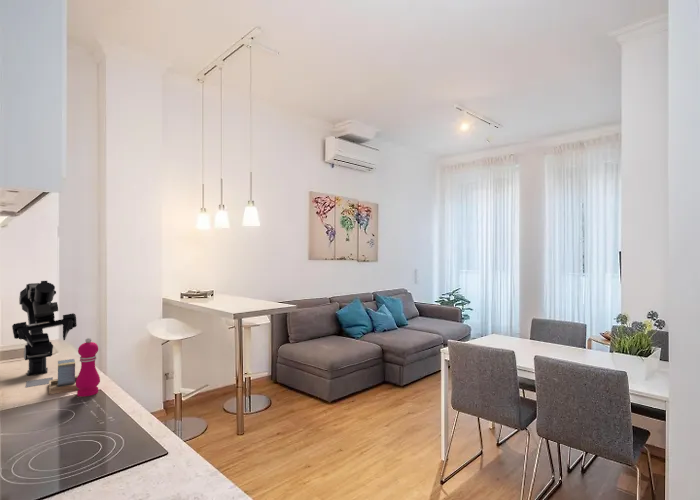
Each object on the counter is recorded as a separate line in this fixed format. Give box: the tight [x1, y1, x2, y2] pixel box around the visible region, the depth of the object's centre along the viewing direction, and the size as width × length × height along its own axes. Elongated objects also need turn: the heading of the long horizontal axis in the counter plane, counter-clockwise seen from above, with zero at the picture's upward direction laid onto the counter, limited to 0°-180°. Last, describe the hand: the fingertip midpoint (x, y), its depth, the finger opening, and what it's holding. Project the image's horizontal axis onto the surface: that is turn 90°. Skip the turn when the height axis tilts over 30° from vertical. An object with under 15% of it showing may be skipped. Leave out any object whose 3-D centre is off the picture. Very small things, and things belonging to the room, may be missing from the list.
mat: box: [24, 377, 54, 388], centre depth 149 cm, size 8×8×1 cm
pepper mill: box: [76, 337, 101, 398], centre depth 139 cm, size 7×7×20 cm
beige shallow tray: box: [48, 375, 79, 395], centre depth 145 cm, size 12×10×2 cm
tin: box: [57, 358, 76, 387], centre depth 145 cm, size 7×5×9 cm
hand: (48, 342), depth 143 cm, fingers open, 9 cm apart
